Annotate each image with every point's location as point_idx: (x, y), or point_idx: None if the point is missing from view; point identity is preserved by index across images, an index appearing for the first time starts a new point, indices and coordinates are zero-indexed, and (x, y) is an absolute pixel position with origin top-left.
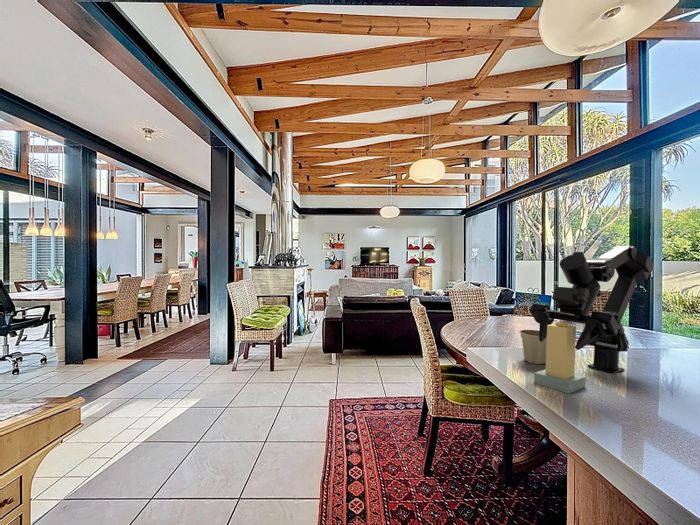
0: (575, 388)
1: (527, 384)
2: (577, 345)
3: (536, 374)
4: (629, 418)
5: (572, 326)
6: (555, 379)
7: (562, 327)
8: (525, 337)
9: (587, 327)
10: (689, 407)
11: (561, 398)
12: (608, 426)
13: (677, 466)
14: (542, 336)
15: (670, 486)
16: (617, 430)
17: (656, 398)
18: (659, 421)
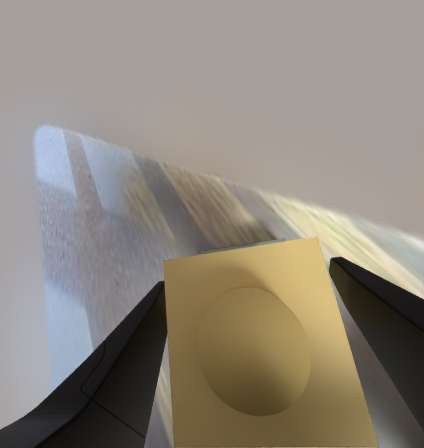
0: None
1: (275, 217)
2: (156, 287)
3: (278, 239)
4: (105, 247)
5: (197, 428)
6: (230, 247)
7: (199, 268)
8: None
9: (57, 414)
10: None
11: (196, 217)
12: (111, 191)
13: (47, 172)
14: (344, 277)
15: (46, 135)
16: (101, 191)
17: None
18: (78, 281)
